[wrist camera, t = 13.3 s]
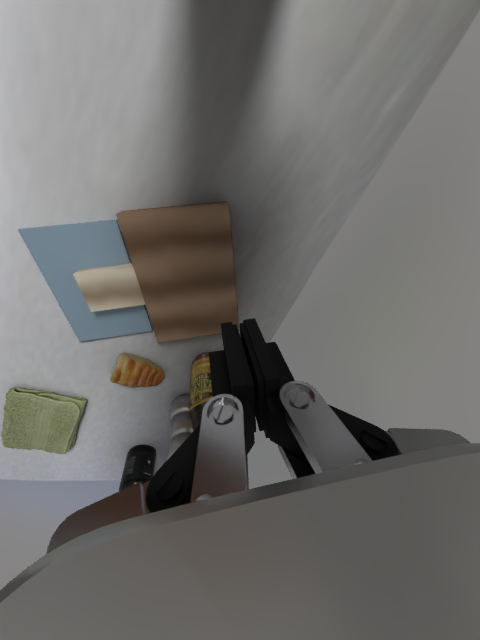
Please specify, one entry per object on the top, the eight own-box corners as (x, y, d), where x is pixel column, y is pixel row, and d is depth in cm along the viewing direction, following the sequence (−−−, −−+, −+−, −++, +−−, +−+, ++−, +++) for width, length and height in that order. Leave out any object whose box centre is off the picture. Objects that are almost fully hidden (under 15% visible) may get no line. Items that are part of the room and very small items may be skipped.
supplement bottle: (162, 452, 60) (155, 507, 50) (139, 462, 61) (129, 518, 51) (145, 440, 57) (134, 497, 47) (121, 451, 57) (106, 510, 47)
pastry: (170, 361, 46) (168, 375, 42) (159, 384, 48) (156, 399, 45) (119, 348, 42) (113, 363, 39) (110, 374, 45) (104, 389, 42)
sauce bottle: (210, 345, 45) (220, 444, 28) (227, 364, 48) (246, 462, 32) (183, 362, 46) (177, 467, 29) (202, 379, 49) (206, 482, 33)
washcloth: (91, 394, 47) (84, 407, 44) (75, 444, 54) (69, 458, 51) (10, 379, 42) (-2, 393, 39) (5, 437, 49) (-6, 452, 46)
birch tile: (79, 269, 33) (72, 274, 31) (136, 262, 34) (133, 266, 32) (95, 305, 36) (91, 312, 35) (148, 298, 37) (145, 304, 36)
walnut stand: (122, 211, 31) (116, 214, 28) (226, 201, 32) (228, 203, 30) (160, 332, 42) (157, 342, 39) (236, 321, 43) (239, 330, 41)
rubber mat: (20, 228, 30) (18, 229, 29) (117, 219, 31) (116, 220, 31) (81, 339, 40) (79, 341, 39) (152, 329, 41) (152, 330, 40)
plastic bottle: (164, 399, 50) (149, 510, 34) (191, 386, 50) (190, 492, 33) (180, 414, 54) (175, 521, 37) (206, 402, 53) (212, 506, 36)
